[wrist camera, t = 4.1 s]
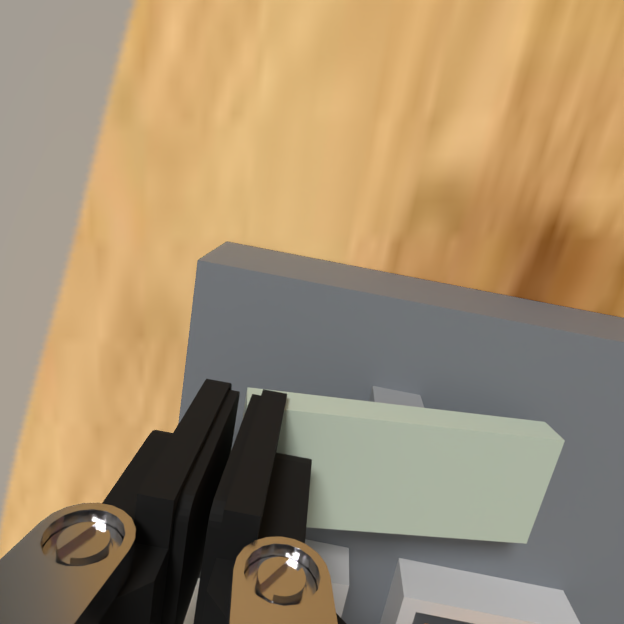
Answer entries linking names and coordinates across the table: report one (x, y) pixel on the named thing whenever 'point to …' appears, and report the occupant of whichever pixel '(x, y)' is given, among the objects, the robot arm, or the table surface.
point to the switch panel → (444, 396)
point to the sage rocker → (418, 467)
